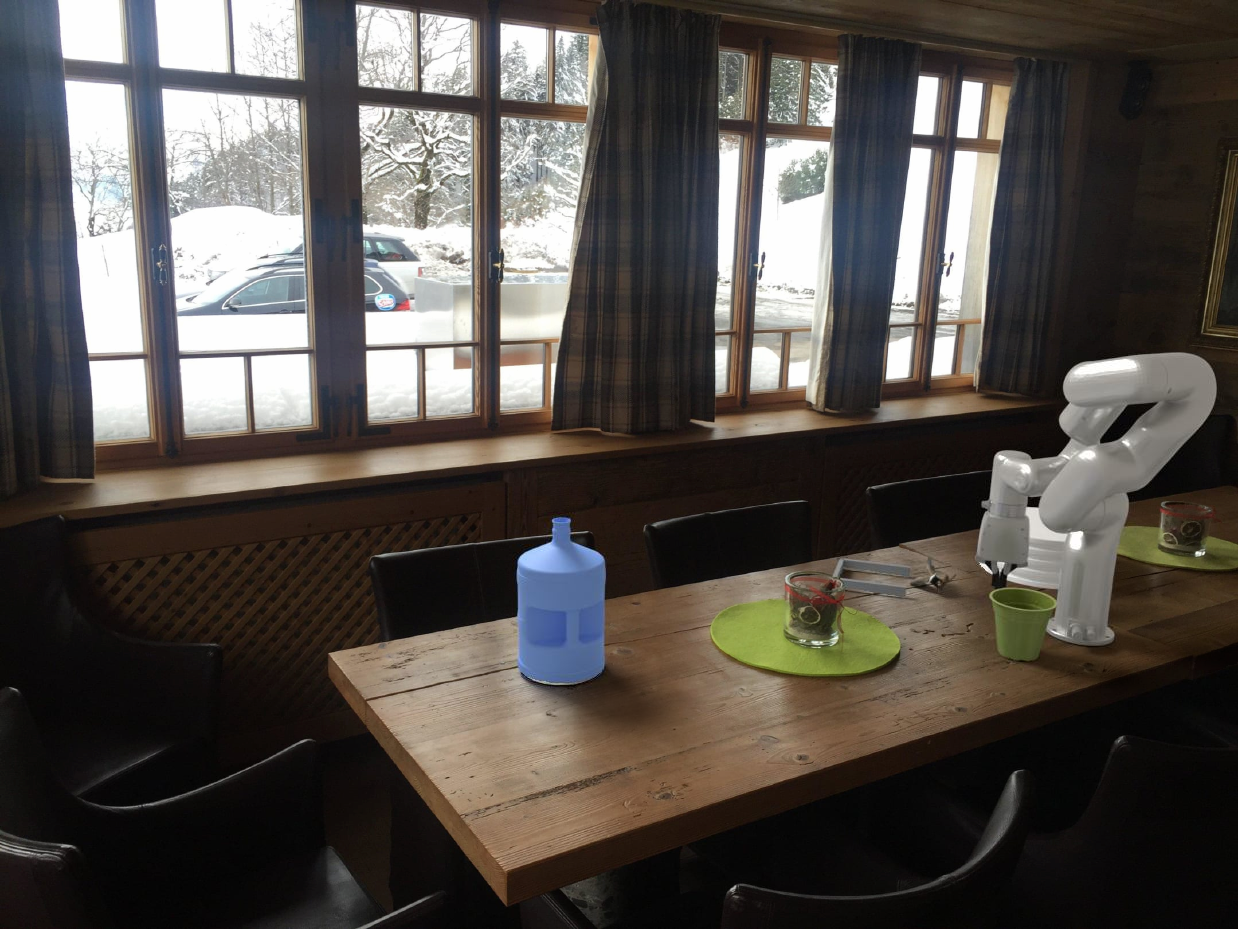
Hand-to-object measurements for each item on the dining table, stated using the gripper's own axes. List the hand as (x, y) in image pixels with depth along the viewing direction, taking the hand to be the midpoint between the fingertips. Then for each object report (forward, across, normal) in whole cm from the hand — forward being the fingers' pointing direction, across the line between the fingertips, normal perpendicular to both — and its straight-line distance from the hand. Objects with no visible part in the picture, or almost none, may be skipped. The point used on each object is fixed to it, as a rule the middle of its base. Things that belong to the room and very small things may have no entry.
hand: (998, 589), depth 218 cm
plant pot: (+2, +3, -30) cm, 30 cm away
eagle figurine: (+2, -14, +1) cm, 14 cm away
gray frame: (+2, -27, 0) cm, 27 cm away
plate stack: (+3, +10, +25) cm, 27 cm away
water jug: (+2, -75, -67) cm, 101 cm away
